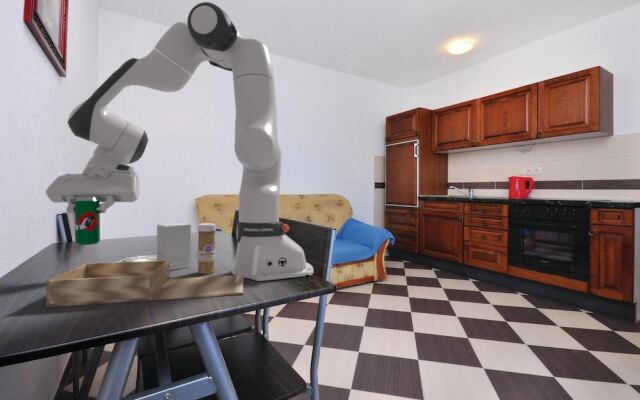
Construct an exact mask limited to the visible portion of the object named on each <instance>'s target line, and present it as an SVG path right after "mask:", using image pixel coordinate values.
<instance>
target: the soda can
mask: <svg viewBox="0 0 640 400" xmlns="http://www.w3.org/2000/svg"><path fill="white" fill-rule="evenodd" d="M98 204H101V202H100V201H99V200H98V197H76V200H75V201H74V213H73V214H74V244H76V245H77V246H90V245H97V244H99V243H100V242H101V213H98V211H97V210H96V208H97V207H98Z"/></svg>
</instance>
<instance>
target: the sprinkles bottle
mask: <svg viewBox="0 0 640 400" xmlns="http://www.w3.org/2000/svg"><path fill="white" fill-rule="evenodd" d="M216 230H217V229H216V224H215V223H210V222H209V223H208V222H206V223H205V222H204V223H199V224H198V225H197V231H198V238H197V239H198V240H197V241H198V242H197V262H198V263H197V274H200V275H210V274H214V273H215V271H216V269H215V263H216V262H215V261H216Z"/></svg>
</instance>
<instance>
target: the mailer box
mask: <svg viewBox="0 0 640 400" xmlns="http://www.w3.org/2000/svg"><path fill="white" fill-rule="evenodd" d="M244 280H245V278H244V277H243V276H238V275H234V274H233V275H219V276H218V275H217V276H199V277H182V278H181V277H178V278H177V277H176V278H175V277H173V278H170V270H169V260H167V261H157V260H144V261H143V260H141V261H116V262H115V261H114V262H113V261H112V262H91V263H89V262H88V263H87V262H86V263H84V264H81V265H79V266H77V267H74V268H72V269H69V270H67V271H66V272H63V273H61V274H58V275H57V276H54V277H51V278H49V279H48V280H46V281H45V287H46V288H45V289H46V290H45V292H46V294H45V295H46V296H45V297H46V298H45V299H46V300H45V301H46V302H45V304H46V306H45V307H46V308H52V307H53V308H54V307H55V308H56V307H71V306H73V307H74V306H87V305H101V304H102V305H104V304H115V303H132V302H133V303H134V302H147V301H148V302H150V301H162V300H163V301H164V300H176V299H177V300H179V299H180V300H181V299H191V298H192V299H194V298H206V297H207V298H210V297H224V296H225V297H226V296H227V297H228V296H239V295H240V294H242V295H244V287H245V286H244V282H245V281H244Z"/></svg>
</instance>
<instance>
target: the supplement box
mask: <svg viewBox="0 0 640 400" xmlns="http://www.w3.org/2000/svg"><path fill="white" fill-rule="evenodd" d="M191 226H192V224H189V223H184V222H176V223H175V222H173V223H159V224H157V225H156V261H167V260H169V271H175V270H182V269H186V268H191V265H192V261H191V258H192V238H191V237H192V233H191V232H192V227H191Z"/></svg>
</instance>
